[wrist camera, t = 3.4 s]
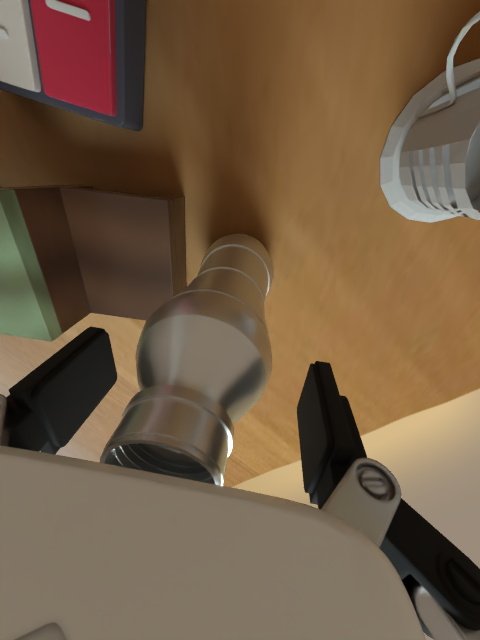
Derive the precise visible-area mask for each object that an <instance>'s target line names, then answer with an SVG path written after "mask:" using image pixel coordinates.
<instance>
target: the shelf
mask: <svg viewBox="0 0 480 640" xmlns="http://www.w3.org/2000/svg"><path fill="white" fill-rule="evenodd" d="M185 288H186V241H185V197H184V196H177V195H169V196H163V197H154V196H145V195H137V194H128V193H119V192H111V191H102V190H93V186H89V185H51V186H21V187H0V334H5V335H11V336H18V337H24V338H31V339H38V340H44V341H51V342H52V341H53V340H55V339H56V338H57V337H59V336H60V335H61V334H62V333H64V332H65V331H67V330H68V329H69V328H71V327H72V326H73V325H75V324H76V323H77V322H79V321H80V320H82V319H83V318H84V317H86V316H87V315H88V314H90V313H98V314H105V315H112V316H119V317H125V318H132V319H139V320H146V321H147V320H148V319H149V318H150V317H151V315H152V314H153V313H154V312H155V311H156V310H158V309H159V308H160V307H161V306H162V305H163V304H164V303H166V302H167V301H168V300H170V299H171V298H173V297H174V296H175V295H177V294H178V293H180V292H181V291H182V290H184V289H185Z"/></svg>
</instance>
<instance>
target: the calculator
mask: <svg viewBox="0 0 480 640" xmlns="http://www.w3.org/2000/svg"><path fill="white" fill-rule="evenodd" d="M145 23H146V0H0V90H3V91H7V92H10V93H13V94H16V95H19V96H22V97H25V98H29V99H32V100H35V101H38V102H41V103H44V104H47V105H51V106H54V107H57V108H60V109H63V110H66V111H69V112H73V113H76V114H79V115H82V116H85V117H88V118H91V119H95V120H98V121H101V122H104V123H107V124H110V125H113V126H117V127H121V128H125V129H130V130H135V131H140V130H141V129H142V126H143V96H144V59H145Z"/></svg>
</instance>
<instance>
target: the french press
mask: <svg viewBox="0 0 480 640" xmlns="http://www.w3.org/2000/svg"><path fill="white" fill-rule="evenodd" d="M479 20H480V11H479V12H478V13H477V14H476V15H475V16H473V17H472V18H471V19H470V20H469V21H468V22H467V24H466V25H465V26H464V27H463V29H462V30H461V31H460V33H459V34H458V35H457V37H456V38H455V40H454V42H453V45H452V47H451V50H450V52H449V55H448V57H447V69H446V70H445V71H444V72H442V73H441V74H440V75H439V76H437V77H436V78H435V79H434V80H432V81H431V82H430V83H428V84H427V85H426V86H425V87H423V88H422V89H421V90H420V91H418V92H417V93H416V94H415V95H413V97H412V98H411V100H410V101H409V102H408V104H407V105H406V107H405V108H404V109H403V111H402V112H401V114H400V115H399V116H398V118H397V119H396V121H395V122H394V123H393V125H392V126H391V129H390V132H389V135H388V138H387V140H386V143H385V146H384V149H383V152H382V155H381V157H380V186H381V188H382V190H383V192H384V194H385V197H386V199H387V201H388V203H389V205H390V207H391V208H393V209H394V210H396V211H397V212H398V213H400V214H401V215H402V216H404V217H405V218H407V219H410V220H416V221H423V222H430V223H431V222H436V221H440V220H444V219H449V218H453V217H457V216H464V217H470V218H472V219H478V220H480V211H476V210H480V58H479V59H476V60H473V61H471V62H468V63H465V64H462V65H459V66H456V67H454V68H453V56H454V54H455V52H456V49H457V47H458V45H459V43H460V41H461V40H462V38H463V37H464V36H465V34H466V33H467V32H468V30H469V29H470V28H471V26H472V25H473V24H475V23H476V22H477V21H479ZM463 213H465V214H463Z"/></svg>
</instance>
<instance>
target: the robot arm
mask: <svg viewBox="0 0 480 640" xmlns="http://www.w3.org/2000/svg"><path fill="white" fill-rule="evenodd" d="M116 380H117V372H116V367H115V363H114V358H113V353H112V348H111V344H110V339H109V335H108V333H107V332H106V331H105V330H104V329H102V328H96V327H89V328H87V329H86V330H85V331H83V332H82V333H81V334H80V335H78V336H77V337H76V338H74V339H73V340H72V341H71V342H69V343H68V344H67V345H65V346H64V347H63V348H62V349H60V350H59V351H58V352H56V353H55V354H54V355H53V356H51V357H50V358H49V359H48V360H46V361H45V362H44V363H42V364H41V365H40V366H39V367H37V368H36V369H35V370H33V371H32V372H31V373H30V374H28V375H27V376H26V377H24V378H23V379H22V380H21V381H19V382H18V383H17V384H16V385H14V386H13V387H12V388H10V389H9V392H10V395H9V396H8V397H5V396H4V395H1V394H0V640H426V638H425V635H424V633H425V634H426V635H427V636H429V637H431V638H432V639H434V640H480V569H479V568H478V567H477V566H476V565H475V564H474V563H473V562H472V561H471V560H470V559H469V558H468V557H467V556H466V555H465V554H464V553H462V552H461V551H460V550H459V549H458V548H457V547H456V546H455V545H453V544H452V543H451V542H450V541H449V540H448V539H447V538H446V537H444V536H443V535H442V534H441V533H440V532H439V531H438V530H437V529H435V528H434V527H433V526H432V525H431V524H430V523H428V522H427V521H426V520H425V519H424V518H423V517H422V516H421V515H420V514H418V513H417V512H416V511H415V510H414V509H413V508H411V506H409V505H408V504H407V503H406V502H405V501H404V500H403V499H402V498H401V489H400V486H399V484H398V482H397V479H396V478H395V477H394V475H393V474H392V473H391V471H389V470H388V469H387V468H386V467H385V466H384V465H382V464H381V463H379V462H378V461H375V460H373V459H370V458H367V455H366V452H365V450H364V446H363V444H362V440H361V437H360V434H359V431H358V428H357V425H356V422H355V419H354V416H353V413H352V410H351V407H350V404H349V401H348V399H347V398H346V397H345V396H340V395H339V391H338V388H337V385H336V382H335V378H334V375H333V372H332V368H331V365H330V363H326V362H319V361H316V362H315V364H310V367H309V370H308V374H307V377H306V380H305V383H304V387H303V390H302V393H301V396H300V400H299V403H298V407H297V418H298V428H299V439H300V450H301V460H302V471H303V481H304V489H305V492H306V493H309V496H310V503H313V504H317V505H318V509H317V508H314V507H312V506H309V505H306V504H302V503H298V502H295V501H291V500H287V499H283V498H279V497H274V496H269V495H264V494H260V493H255V492H250V491H245V490H241V489H236V488H230V487H225V486H220V485H215V484H210V483H205V482H199V481H194V480H189V479H184V478H179V477H173V476H168V475H163V474H157V473H152V472H147V471H142V470H136V469H131V468H125V467H120V466H115V465H109V464H104V463H99V462H93V461H88V460H82V459H77V458H71V457H65V456H60V455H55V454H56V453H57V451H58V450H59V449H60V448H61V447H64V446H65V445H66V444H67V443H68V442H69V440H70V439H71V438H72V437H73V435H74V434H75V433H76V432H77V430H78V429H79V428H80V427H81V425H82V424H83V423H84V422H85V420H86V419H87V418H88V417H89V415H90V414H91V413H92V412H93V410H94V409H95V408H96V406H97V405H98V404H99V403H100V401H101V400H102V399H103V398H104V396H105V395H106V394H107V393H108V391H109V390H110V389H111V388H112V386H113V385H114V384H115V382H116ZM39 451H41V452H39ZM423 632H424V633H423Z"/></svg>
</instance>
